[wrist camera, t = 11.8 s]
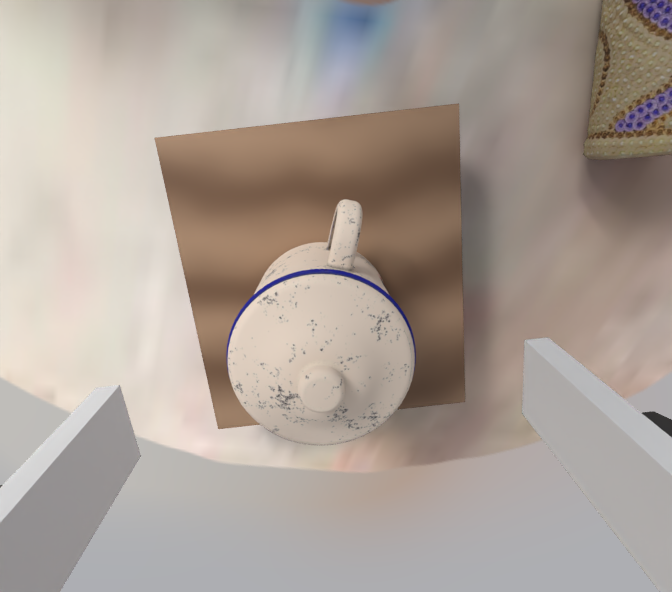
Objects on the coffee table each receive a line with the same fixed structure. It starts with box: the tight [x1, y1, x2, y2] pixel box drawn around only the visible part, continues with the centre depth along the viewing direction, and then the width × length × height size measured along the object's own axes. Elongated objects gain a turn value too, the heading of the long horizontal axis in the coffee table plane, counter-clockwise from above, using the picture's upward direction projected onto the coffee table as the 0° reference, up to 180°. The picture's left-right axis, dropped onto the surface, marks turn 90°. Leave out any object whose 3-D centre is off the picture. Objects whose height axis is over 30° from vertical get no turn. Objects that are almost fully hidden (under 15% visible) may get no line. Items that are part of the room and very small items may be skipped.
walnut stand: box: [155, 104, 465, 429], centre depth 31 cm, size 20×18×6 cm
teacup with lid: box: [226, 199, 416, 445], centre depth 23 cm, size 12×9×12 cm
